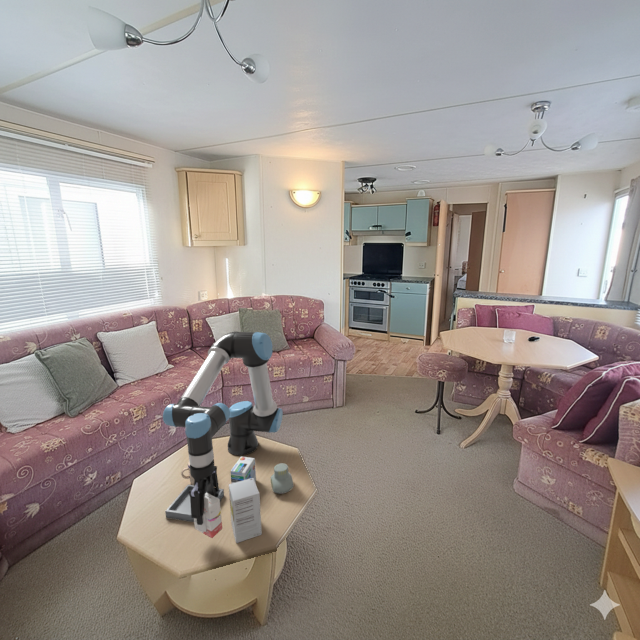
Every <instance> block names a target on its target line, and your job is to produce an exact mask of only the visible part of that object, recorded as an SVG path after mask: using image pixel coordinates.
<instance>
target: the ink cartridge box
mask: <svg viewBox="0 0 640 640" xmlns="http://www.w3.org/2000/svg"><path fill="white" fill-rule="evenodd" d="M204 513H205V516H206V526H207V531H206V532H203V531H199V532H200V533H201V534H204V535H205V536H207V537H208V538H210V539H213V538H214V537H215V536H216V535H218V534H219V532H221V531H222V530H223V522H222V521H223V520H222V509H221V501H220V499H219V498H217V497H215V496H213V495H211V494H209V493H207V492H206V493H205V497H204ZM193 524H194V529H195V530H197V531H198V524H197V519H195V518H194V522H193Z"/></svg>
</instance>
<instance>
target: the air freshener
mask: <svg viewBox="0 0 640 640" xmlns="http://www.w3.org/2000/svg"><path fill="white" fill-rule="evenodd" d="M273 470H274V471H273V474H272V475H271V476H270V485H271V488H272V489H271V490H272V492H273V493H274V494H281V495H282V494H286V493H288V492H290V491H291V490H292V489H294V480H293V476H292V473H290V471H289V465H288V464H286V463H282V462H281V463H280V462H279V463H278V464H276V465H275V466H274V468H273Z"/></svg>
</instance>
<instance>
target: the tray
mask: <svg viewBox="0 0 640 640" xmlns="http://www.w3.org/2000/svg"><path fill="white" fill-rule="evenodd" d="M193 488H194V485H192V484H187V485H186V486H185V487H184V489H183V490H182V491H181V492H180V493H179V494H178V496H176V498H175V499H174V500H173V501H172V502H171V503H170V505H169V506H168V507H166V508H167V509H165V513H164V514H165V519H170V520H176V521H177V520H178V521H184V522H188V523H189V522H190V523H194V518H191V503H190V495H189V490H193ZM224 491H225V490H224V488H219V491H218V492H216V493H217V494H219V496H218V497H217V498H219V499H220V502H221V501H222V499H223V498H224V497H225V492H224Z"/></svg>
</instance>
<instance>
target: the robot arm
mask: <svg viewBox="0 0 640 640" xmlns="http://www.w3.org/2000/svg"><path fill="white" fill-rule="evenodd" d="M272 355H273V342H272V339H271V337H270V336H269V334H267V333H266V332H260V331H252V332H250V331H231V332H226V333H225V334H224V335H222V336H221V337H219V338H218V339H217V340H216V341H215V342H213V344H212V345H211V346H210V348H209V349H208V351H207V357H206V358H205V360H203V362H202V364H201V365H200V368H199V369H198V371H197V372H196V373H195V375H194V376H193V378H192V380H191V381H190V383H189V384H188V386H187V388H186V389H185V391H184V392H183V394H182V395H181V396H180V398H179V400H178V401H177V403H169V404H168V405H166V407H165V408H164V410H163V412H162V413H163V414H162V421H163V423H164V424H165V425H166V426H170V427H175V428H185V431H184V432H185V437H186V442H187V452H188V462H189V463H190V474H191V476H192V477H193V478H194V488H193V490H189V495H190V503H191V518H195V519H197V524H198V530H197V531H198V532H200V531H203V532H206V531H207V526H206V516H205V513H204V497H205V493H206V492H207V493H209V494H211V495H213V496H215V497H218V496H219V494H217V493H216V492H218V491H219V489H220V486H219V479H218V478H219V477H218V470H217V469H218V466H217V465H215V456H214V454H215V453H214V446H213V445H214V444H213V437H214V436H215V435H216V434H217V433H218V432H219V431H220V430H221V428H222V427H224V426H225V425H226V423H227V422H228V421H229V423H228V424H229V432H230V434H229V438H228V441H227V451H228V453H229V454H231V455H234V456H246V455H249V454H251V453H253V452H255V451H256V450H257V449H258V448H259V441H258V438H257V435H256V434H255V432H262V433H269V434H270V433H273V434H274V433H277V432H278V431H279V430H280V427H281V425H282V421H283V409H282V408H280V407H278V404H277V402H276V401H275V400H273V394H272V393H273V391H272V388H271V380H270V375H269V369H268V363H269V361H270V359H271V357H272ZM231 359H242V364H243V366H245V367H246V368H247V371H248V375H249V376H248V377H249V381H250V386H251V390H252V395H253V400H254V405H253V402H251V401H250V400H249V401H248V400H243V401H238V402H236V403H234V404H232V405H231V406H230V407H228V405H226V404H225V403H222V402H217V403H215V404H213V405H211V406H201V405H202V404H203V401H204V400H205V398H206V396H207V395H208V393H209V391H210V390H211V388H212V386H213V385H214V382H215V381H216V379H217V378H218V376H219V375H220V372H221V371H222V369H223V368H224V365H226V364H228V363H229V362H230V360H231Z"/></svg>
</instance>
